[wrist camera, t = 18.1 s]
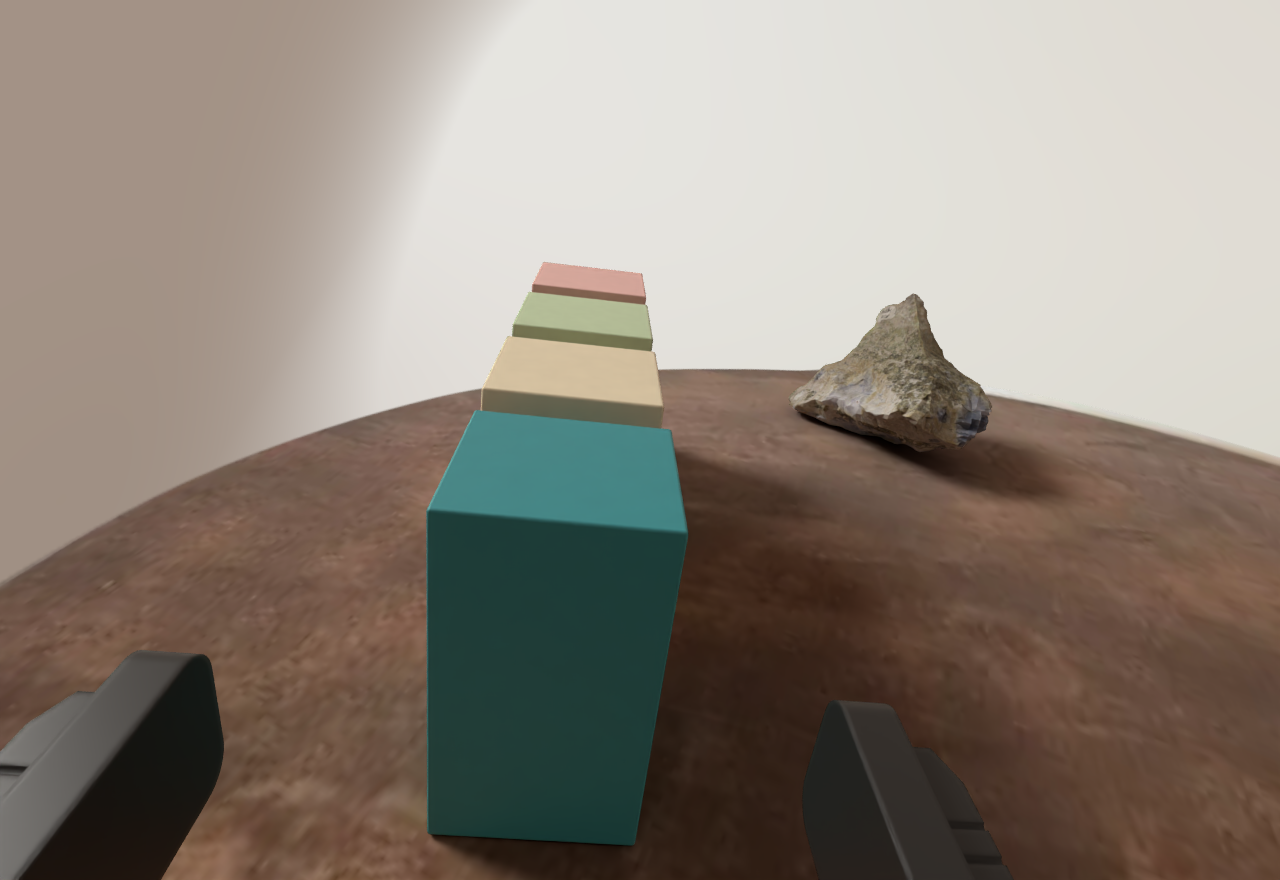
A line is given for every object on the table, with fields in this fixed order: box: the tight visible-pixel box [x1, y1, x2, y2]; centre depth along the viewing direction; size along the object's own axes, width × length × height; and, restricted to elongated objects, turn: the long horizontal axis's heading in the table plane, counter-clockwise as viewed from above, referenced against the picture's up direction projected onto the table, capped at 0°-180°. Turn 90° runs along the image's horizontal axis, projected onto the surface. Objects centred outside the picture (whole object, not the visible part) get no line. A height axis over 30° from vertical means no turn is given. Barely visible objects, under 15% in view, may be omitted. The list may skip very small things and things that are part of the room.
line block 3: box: [481, 336, 664, 429], centre depth 24 cm, size 5×5×9 cm
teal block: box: [426, 410, 688, 846], centre depth 18 cm, size 5×5×9 cm
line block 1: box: [532, 262, 646, 305], centre depth 35 cm, size 5×5×9 cm
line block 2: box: [512, 292, 653, 351], centre depth 30 cm, size 5×5×9 cm
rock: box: [789, 294, 992, 452], centre depth 43 cm, size 11×6×10 cm
